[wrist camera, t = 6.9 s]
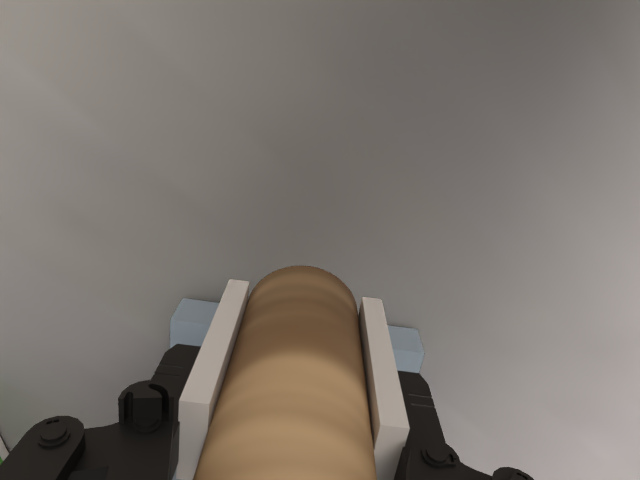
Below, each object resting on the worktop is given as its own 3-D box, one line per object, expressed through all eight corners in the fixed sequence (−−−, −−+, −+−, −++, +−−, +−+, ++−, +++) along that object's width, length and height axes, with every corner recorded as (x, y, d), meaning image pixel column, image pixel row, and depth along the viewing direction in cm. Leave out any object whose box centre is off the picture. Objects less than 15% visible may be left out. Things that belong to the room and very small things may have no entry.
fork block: (182, 298, 23) (115, 415, 16) (417, 329, 24) (456, 457, 17) (177, 451, 28) (122, 600, 20) (378, 475, 28) (395, 629, 21)
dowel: (251, 258, 17) (145, 554, 7) (367, 274, 18) (421, 583, 8) (242, 354, 19) (146, 702, 9) (347, 368, 19) (370, 723, 9)
